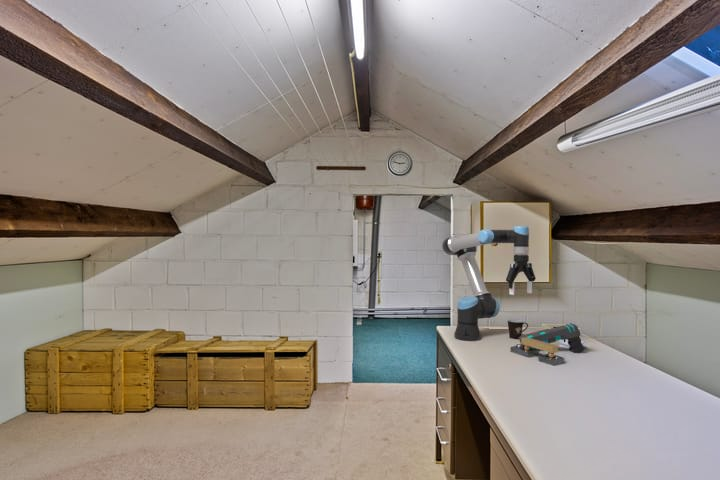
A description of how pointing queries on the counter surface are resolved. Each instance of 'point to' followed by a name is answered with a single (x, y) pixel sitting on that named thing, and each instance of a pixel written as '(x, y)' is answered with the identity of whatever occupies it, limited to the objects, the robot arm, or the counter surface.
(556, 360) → the chain end
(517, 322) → the coffee mug
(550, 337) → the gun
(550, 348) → the gold bar
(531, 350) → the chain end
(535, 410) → the counter surface
